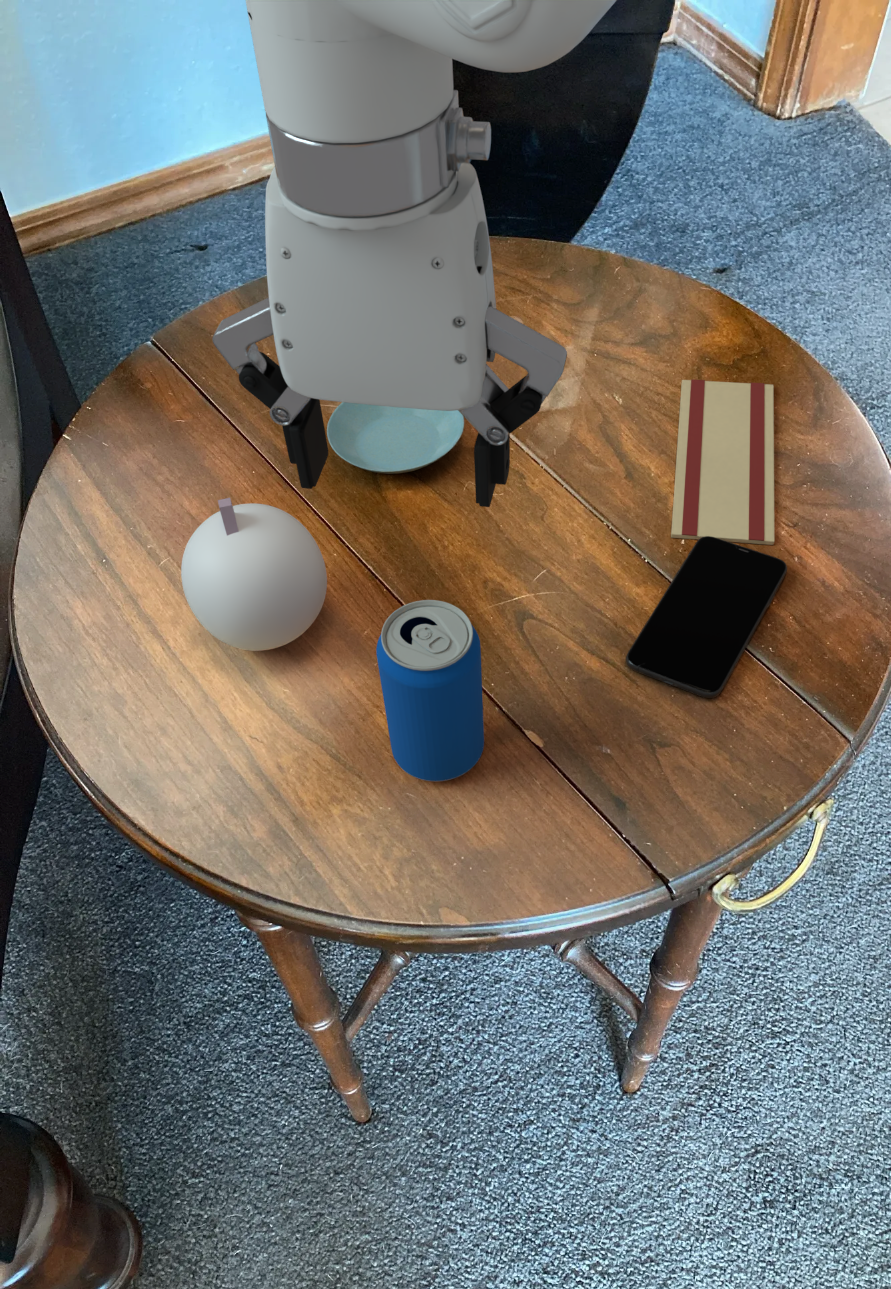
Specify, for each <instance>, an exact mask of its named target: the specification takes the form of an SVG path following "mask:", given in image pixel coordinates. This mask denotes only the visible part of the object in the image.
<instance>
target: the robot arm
mask: <svg viewBox="0 0 891 1289" xmlns="http://www.w3.org/2000/svg"><path fill="white" fill-rule="evenodd" d="M616 2H617V0H245V6H246V11H247V17H248V22H249V28H250V34H251V39H252V46H253V51H254V55H255V62H256V68H257V73H258V78H259V85H260V90H261V96H262V102H263V108H264V112H265V120H266V124H267V130H268V135H269V140H270V146H271V152H272V158H273V162H274V167H273V168H272V169H271V172H270V175H269V179H268V180H267V184H266V187H265V202H264V204H265V205H264V206H265V207H264V226H265V227H264V234H265V236H264V237H265V238H264V239H265V265H266V279H267V280H266V281H267V293H268V297H266V298H265V299H263V300H260V301H258V302H256V303H254V304H252V305H250V306H248V307H246V308H244V309H242V310H240V311H237V312H235V313H234V314H231V315H229V316H227V317H225V318H223V319H222V320H221V321H220V323H219V324H218V326H217V328H216V330H215V331H214V334H213V335H212V339H211V340H212V344H213V345H214V347H215V348H216V350H217V351H218V352H219V353H220V355H221V356H222V357H223V358H224V360H225V361H226V362H227V364H228V365H229V367H231V369H232V371H234V370H235V371H236V374H238V381H239V384H240V385H241V386H242V387H243V388H244V389H245V390H246V391H247V392H248V393H250V394H251V395H252V396H253V397H255V398H256V399H257V400H258V401H260V402H261V403H262V404H263V405H264V406H265V407H267V408H268V409H269V416H270V419H271V420H272V421H273V422H274V423H275V424H276V425H279V426H281V427H282V431H283V432H282V433H283V436H284V442H285V446H286V450H287V456H288V460H289V463H290V464H292V465H296V469H297V475H298V478H299V485H300V488H301V489H306V490H307V489H308V490H312V489H313V488H315V487H317V485H318V482H319V479H320V477H321V475H322V472H323V470H324V468H325V465H326V462H327V460H328V458H329V446H328V438H327V433H326V429H325V424H324V423H325V422H324V416H323V413H322V412H323V411H322V405H321V401H328V402H337V403H342V402H346V403H357V404H367V405H378V406H390V407H402V408H414V409H427V410H442V411H454V410H458V411H459V412H460V413H461V414H462V415H463V417H464V419H466V421H468V423H469V424H470V425H471V426H472V427H473V428H474V429H475V430H476V431H477V435H476V439H475V442H474V448H473V460H474V462H473V463H474V486H475V487H474V488H475V503H476V504H478V505H479V507H481V508H490V507H491V504H492V500H493V496H494V493H495V488H496V485H503V486H505V485H506V484H507V481H508V477H509V474H510V464H511V459H510V458H511V457H510V456H511V452H510V451H511V450H510V449H511V448H510V447H511V444H510V443H511V442H510V441H511V436H510V434H512V433H513V432H514V431H516V430H517V429H518V428H520V427H521V426H522V425H523V424H525V423H526V422H528V421H529V420H530V419H531V418H533V417H534V416H536V414H538V413H539V412H540V410H541V407H542V405H543V403H544V402H545V400H546V399H547V398H548V396H549V395H550V393H551V392H552V390H553V389H554V387H555V386H556V384H557V383H558V382H559V380H560V378H561V377H562V375H563V374H564V370H565V367H566V362H567V357H568V351H567V349H566V348H565V346H563V345H561V344H560V343H558V342H556V341H554V340H553V339H550V338H549V337H547V336H546V335H544V334H541V333H540V332H538V331H536V330H535V329H533V328H531V327H529V326H528V325H526V324H524V323H523V322H520V321H519V320H517V319H515V318H513V317H511V316H509V315H507V314H506V313H504V312H502V311H501V310H498V309H497V300H496V290H495V289H496V288H495V279H494V268H493V258H492V250H491V241H490V235H489V226H488V221H487V216H486V210H485V204H484V200H483V195H482V190H481V187H480V186H481V185H480V182H479V178H478V174H477V171H476V169H475V167H474V166H473V164H471V161H472V160H477V161H488V160H489V158H490V153H491V144H492V126H491V122H489V121H474V120H473V117H471V116H464V111H463V107H459V106H460V104H459V90H457V89H454V71H453V70H454V68H453V60H454V61H458V62H460V63H463V64H465V65H467V66H471V67H474V68H477V69H481V70H484V71H485V70H486V71H492V72H498V73H522V72H523V73H525V72H529V71H533V70H537V69H540V68H544V67H546V66H549V65H551V64H552V63H554V62H556V61H557V60H559V59H561V58H563V57H565V56H566V55H567V54H569V53H570V52H571V51H572V50H573V49H574V48H576V47H577V46H578V45H579V44H580V43H581V42H582V41H583V40H584V39H585V38H586V37H587V36H588V35H589V34H590V33H591V31H592V30H593V28H594V27H596V25H598V22H600V20H601V19H602V18H603V17H604V16H605V15H606V13H607V12H608V11H609V10H610V9H611V8H612V6H613V5H614V4H615V3H616ZM271 336H273V340H274V346H275V352H276V356H277V362H278V363H276V362H275V361H274V360H273V359H271V357H270V356H269V355H267V354H266V353H264V352H262V351H260V350H259V346H258V345H257V344H256V343H258V342H260V341H263V340H264V339H267V338H270V337H271ZM496 354H497V355H499V356H500V357H502V358H504V359H506V360H508V361H510V362H512V363H514V364H515V365H517V366H518V367H521V368H523V369H524V370H525V371H526V372H527V374H526V375H525V376H523V377H522V378H521V379H520V380H518V381H516V382H515V384H513V385H512V386H511V387H510V388H509V387H508V386H507V385H506V384H505V383H504V382H503V380H501V378H500V377H499V376H498V375H497V374H496V373H495V372H494V371H493V369H492V368H491V367H490V366H489V365H488V364H487V362H488V363H494V361H495V358H496Z"/></svg>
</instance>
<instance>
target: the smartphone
mask: <svg viewBox="0 0 891 1289" xmlns="http://www.w3.org/2000/svg"><path fill="white" fill-rule="evenodd" d="M787 572H788V565H787V563H786V562H785V561H784V560H783V559H781V558H779V557H776V556H772V555H769V554H767V553H764V552H760V551H759V550H758V551H757V550H755V549H752V548H749V547H746V546H743V545H741V544H740V545H739V544H736V543H735V542H728V541H725V540H722V539H719V538H715V537H711V536H704V537H702V538H700V539H699V540H698V539H697V541H696V542H695V544H694V545H693V547H692V548H691V550H690V551H689V552H688V554H687V556H686V558H685V559H684V560H683V562H682V564H681V565H680V567H679V569H678V570H677V572H676V573H675V575H674V577H673V579H672V580H671V582H670V584H669V585H668V587H667V589H666V590H665V592H664V593H663V595H662V596H661V598H660V600H659V601H658V602H657V605H656V606H655V608H654V609H653V611H652V613H651V614H650V616H649V618H648V619H647V621H646V622H645V623H644V625H643V627H642V629H641V630H640V632H639V633H638V635H637V637H636V638H635V640H634V642H633V643H632V645H631V646H630V648H629V650H628V651H627V653H626V656H625V664H626V666H627V667H628V668H629V669H630V670H632V671H634V672H636V673H639V674H642V675H643V676H646V677H649V678H652V679H654V680H657V681H660V682H662V683H665V684H668V685H670V686H672V687H675V688H678V689H681V690H684V691H685V692H689V693H691V694H693V695H696V696H699V697H702V698H705V699H711V698H715V697H718V696H719V695H720V694H721V692H722V691H723V690H724V688H725V686H726V684H727V683H728V681H729V679H730V677H731V675H732V673H733V672H734V671H735V670H734V669H735V668H736V666H737V664H738V663H739V661H740V659H741V657H742V655H743V654H744V652H745V650H746V649H747V646H748V644H749V642H750V640H751V639H752V637H753V635H754V633H755V631H756V630H757V628H758V626H759V624H760V622H761V620H762V619H763V617H764V616H765V613H766V612H767V610H768V609H769V607H770V606H771V604H772V601H773V600H774V598H775V596H776V593H777V592H778V590H779V588H780V586H781V584H782V583H783V580H784V578H785V577H786V575H787Z"/></svg>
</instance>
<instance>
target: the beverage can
mask: <svg viewBox="0 0 891 1289" xmlns="http://www.w3.org/2000/svg"><path fill="white" fill-rule="evenodd" d="M382 625H383V626H382V628H381V633H380V635H379V637H378V640H377V643H376V648H375V652H376V661H377V667H378V673H379V681H380V686H381V692H382V698H383V704H384V711H385V717H386V718H385V719H386V723H387V729H388V736H389V742H390V748H391V752H392V756H393V759H394V761H395V762H396V764H397V765H398V766H399V767H400V769H402V771H404V772H405V773H406V774H408V775H410V776H412V777H414V778H416V779H418V780H422V781H427V782H446V781H450V780H453V779H457V778H459V777H461V776H463V775H464V774H466V773H468V772H469V771H470V770H471V769H473V767H474V766H475V765H476V764H477V763H478V762H479V760H480V759H481V757H482V754H483V752H484V748H485V729H484V728H485V726H484V702H483V701H484V700H483V675H482V673H483V672H482V651H481V650H482V649H481V648H482V647H481V639H480V636H479V634H478V632H477V629H475V626H473V624H472V622H471V620H470V618H469V617H468V616H467V614H466V613H465V612H464V611H463V610H462V609H461V608H459V607H457V606H456V605H453V604H452V603H450V602H447V601H442V600H436V599H422V600H421V599H420V600H417V601H412V602H409V603H407V604H404V605H402V606H400V607H398V608H397V609H396V610H394V611H392V613H391V614H390V615H389V616H388V617H387V618H386V619H385V621H384V623H383V624H382Z"/></svg>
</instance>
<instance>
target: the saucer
mask: <svg viewBox="0 0 891 1289" xmlns="http://www.w3.org/2000/svg"><path fill="white" fill-rule="evenodd" d="M464 429H465V417H464V416H463V415H462V414H461V413H460V412H459V411H458V410H454V411H442V410H427V409H414V408H402V407H390V406H378V405H367V404H357V403H346V402H340V404H338V405H337V407H336V408H335V409H334V410H333V412H332V413H331V415H330V417H329V419H328V422H327V426H326V438H327V441H328V443H329V445H330V446H331V448H332V450H333V452H335V454H337V456H339V457H340V458H341V459H342V460H344V461H345V462H347V463H349V464H350V465H353V466H355V467H357V468H359V469H362V470H365V471H368V472H373V473H378V474H393V475H394V474H403V473H409V472H413V471H417V470H420V469H423V468H425V467H427V466H429V465H431V464H433V463H435V462H437V461H438V460H440V459H441V458H443V457H444V456H445V455H446V454H448V452H450V451H451V450H452V449H453V448H454V447H455V446H456V445H457V443H458V442H459V440H460V438H461V437H462V435H463V433H464Z"/></svg>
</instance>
